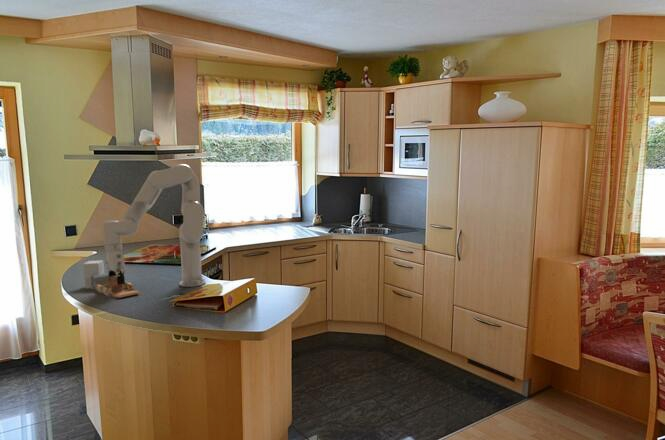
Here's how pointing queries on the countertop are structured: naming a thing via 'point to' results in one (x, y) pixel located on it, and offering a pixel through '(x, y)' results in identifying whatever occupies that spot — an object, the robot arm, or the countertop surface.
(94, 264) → the supplement box
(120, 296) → the panel
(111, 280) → the block
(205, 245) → the countertop surface
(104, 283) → the truck bed
